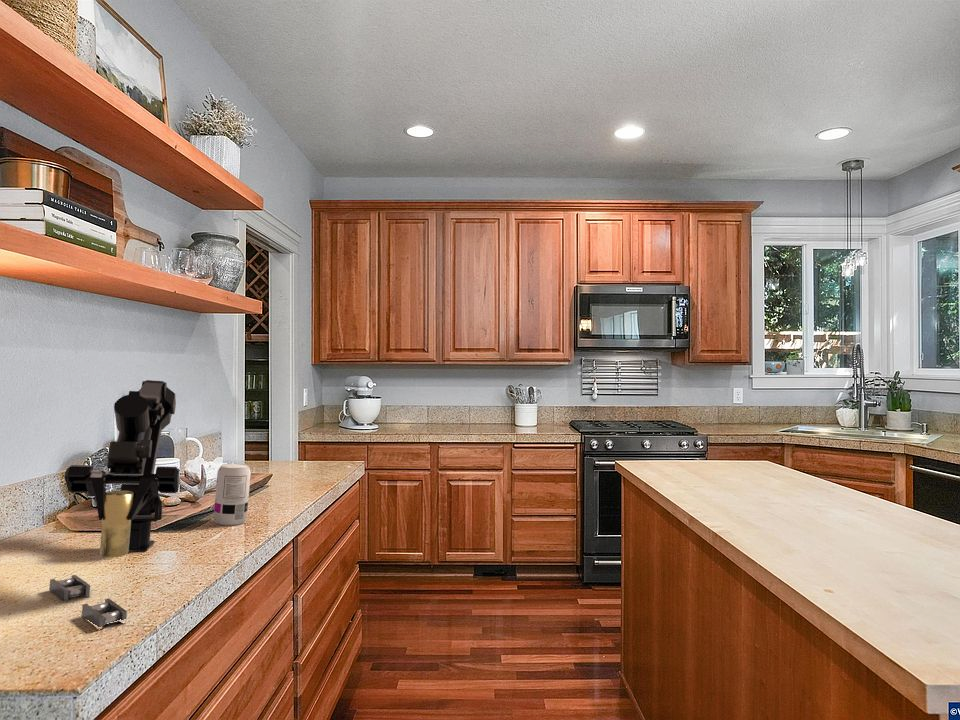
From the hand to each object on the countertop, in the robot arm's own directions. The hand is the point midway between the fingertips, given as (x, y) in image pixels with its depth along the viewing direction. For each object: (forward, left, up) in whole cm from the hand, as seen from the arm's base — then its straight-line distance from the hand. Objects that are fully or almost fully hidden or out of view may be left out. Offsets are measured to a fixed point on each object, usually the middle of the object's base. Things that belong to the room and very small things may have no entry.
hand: (115, 519), depth 111 cm
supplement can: (-50, +12, -14) cm, 53 cm away
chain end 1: (+1, -6, -13) cm, 15 cm away
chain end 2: (+12, +3, -13) cm, 18 cm away
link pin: (-1, 0, -7) cm, 7 cm away
